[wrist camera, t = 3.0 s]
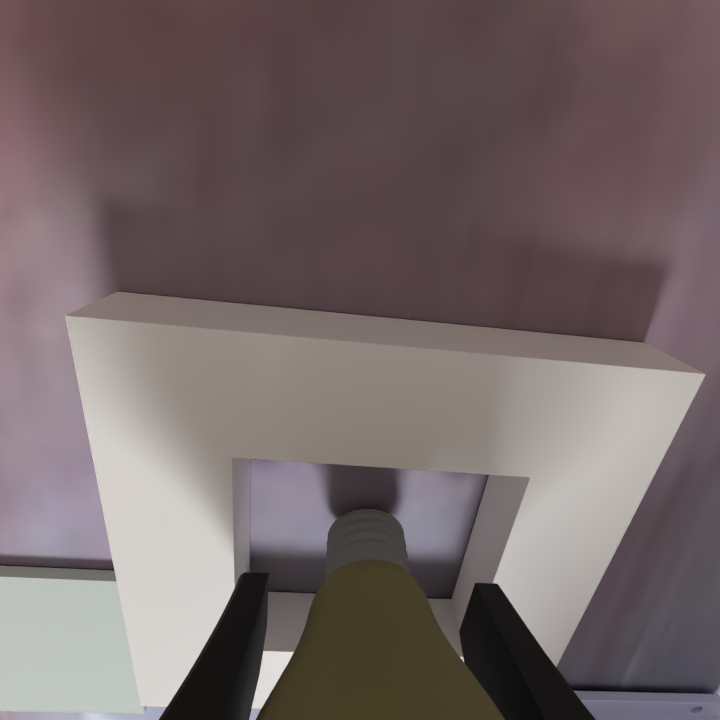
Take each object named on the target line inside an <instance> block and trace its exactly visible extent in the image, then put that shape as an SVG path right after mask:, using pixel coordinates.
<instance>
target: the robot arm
mask: <svg viewBox="0 0 720 720" xmlns="http://www.w3.org/2000/svg"><path fill="white" fill-rule="evenodd" d="M268 578H269V573H250V572H244V573H243V574H241V575H240V577H239V579H238V582H237V584H236V586H235V589H234V591H233V593H232V595H231V597H230V599H229V601H228V603H227V605H226V607H225V609H224V611H223V613H222V615H221V617H220V619H219V621H218V623H217V625H216V626H215V628H214V630H213V632H212V634H211V635H210V637H209V639H208V641H207V642H206V644H205V646H204V648H203V649H202V651H201V653H200V655H199V656H198V658H197V660H196V661H195V663H194V665H193V667H192V668H191V670H190V672H189V673H188V675H187V676H186V678H185V680H184V681H183V683H182V684H181V686H180V687H179V689H178V691H177V692H176V694H175V695H174V697H173V698H172V700H171V702H170V703H169V705H168V706H167V708H166V709H165V711H164V713H163V714H162V716H161V717H160V719H159V720H249V717H250V713H251V708H252V704H253V700H254V696H255V691H256V687H257V683H258V679H259V674H260V668H261V662H262V656H263V649H264V643H265V636H266V630H267V615H268ZM459 635H460V641H461V647H462V653H463V659H464V663H465V664H466V666H467V667H468V668H469V670H470V671H471V672H472V674H473V675H474V676H475V678H476V679H477V680H478V682H479V683H480V684H481V686H482V687H483V688H484V690H485V691H486V692H487V694H488V695H489V696H490V698H491V699H492V700H493V702H494V703H495V705H496V706H497V708H498V709H499V711H500V713H501V714H502V716H503V717H504V719H505V720H720V695H718V694H695V693H652V692H610V691H573V690H572V688H571V687H570V686H569V684H568V683H567V682H566V680H565V679H564V677H563V676H562V675H561V673H560V672H559V671H558V669H557V668H556V667H555V665H554V664H553V662H552V661H551V660H550V658H549V657H548V656H547V654H546V653H545V651H544V650H543V649H542V647H541V646H540V644H539V643H538V642H537V640H536V639H535V637H534V636H533V634H532V633H531V632H530V630H529V629H528V627H527V626H526V624H525V623H524V621H523V620H522V618H521V617H520V616H519V614H518V613H517V611H516V610H515V608H514V607H513V605H512V604H511V602H510V601H509V599H508V598H507V596H506V595H505V593H504V592H503V590H502V589H501V588H500V586H499V585H498V584H495V583H475V585H474V588H473V591H472V594H471V597H470V600H469V603H468V606H467V609H466V612H465V615H464V618H463V621H462V624H461V627H460V630H459Z"/></svg>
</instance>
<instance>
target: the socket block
mask: <svg viewBox="0 0 720 720" xmlns="http://www.w3.org/2000/svg"><path fill="white" fill-rule="evenodd" d="M65 318H66V323H67V328H68V333H69V339H70V344H71V349H72V354H73V359H74V364H75V369H76V375H77V380H78V385H79V390H80V395H81V400H82V405H83V411H84V416H85V421H86V426H87V431H88V436H89V442H90V447H91V452H92V457H93V462H94V467H95V472H96V478H97V483H98V488H99V493H100V498H101V503H102V509H103V514H104V519H105V524H106V529H107V534H108V539H109V545H110V550H111V555H112V560H113V565H114V570H115V576H116V581H117V586H118V591H119V596H120V601H121V606H122V612H123V617H124V622H125V627H126V632H127V637H128V643H129V648H130V653H131V658H132V663H133V668H134V673H135V679H136V684H137V689H138V694H139V699H140V704H141V706H160V707H167V706H168V705H169V703H170V702H171V700H172V698H173V697H174V695H175V694H176V692H177V691H178V689H179V687H180V686H181V684H182V683H183V681H184V680H185V678H186V676H187V675H188V673H189V672H190V670H191V668H192V667H193V665H194V663H195V661H196V660H197V658H198V656H199V655H200V653H201V651H202V649H203V648H204V646H205V644H206V642H207V641H208V639H209V637H210V635H211V634H212V632H213V630H214V628H215V626H216V625H217V623H218V621H219V619H220V617H221V615H222V613H223V611H224V609H225V607H226V605H227V603H228V601H229V599H230V597H231V595H232V593H233V591H234V589H235V586H236V584H237V582H238V579H239V577H240V575H241V574H243V573H244V572H250V459H262V460H277V461H292V462H307V463H322V464H337V465H352V466H367V467H382V468H397V469H412V470H427V471H442V472H457V473H471V474H486V475H489V477H488V480H487V483H486V486H485V490H484V493H483V496H482V500H481V503H480V506H479V510H478V513H477V516H476V520H475V523H474V526H473V529H472V533H471V536H470V539H469V543H468V546H467V549H466V553H465V556H464V559H463V563H462V566H461V569H460V573H459V576H458V579H457V582H456V586H455V589H454V592H453V596H452V599H432V598H427V599H428V602H429V604H430V607H431V609H432V612H433V614H434V616H435V619H436V621H437V622H438V624H439V626H440V628H441V630H442V632H443V633H444V635H445V636H446V638H447V639H448V641H449V642H450V644H451V645H452V647H453V648H454V650H455V651H456V652H457V654H458V655H459V656H460V658H461V659H462V660H463V662H464V659H463V653H462V647H461V641H460V635H459V630H460V627H461V624H462V621H463V618H464V615H465V612H466V609H467V606H468V603H469V600H470V597H471V594H472V591H473V588H474V585H475V583H495V584H498V585H499V586H500V588H501V589H502V590H503V592H504V593H505V595H506V596H507V598H508V599H509V601H510V602H511V604H512V605H513V607H514V608H515V610H516V611H517V613H518V614H519V616H520V617H521V618H522V620H523V621H524V623H525V624H526V626H527V627H528V629H529V630H530V632H531V633H532V634H533V636H534V637H535V639H536V640H537V642H538V643H539V644H540V646H541V647H542V649H543V650H544V651H545V653H546V654H547V656H548V657H549V658H550V660H551V661H552V662H553V664H554V665H555V667H557V665H558V663H559V661H560V659H561V657H562V655H563V653H564V651H565V649H566V647H567V645H568V643H569V641H570V639H571V637H572V635H573V634H574V632H575V630H576V628H577V626H578V624H579V622H580V620H581V618H582V616H583V614H584V612H585V610H586V608H587V606H588V604H589V602H590V600H591V598H592V596H593V594H594V592H595V590H596V589H597V587H598V585H599V583H600V581H601V579H602V577H603V575H604V573H605V571H606V569H607V567H608V565H609V563H610V561H611V559H612V557H613V555H614V553H615V551H616V549H617V547H618V546H619V544H620V542H621V540H622V538H623V536H624V534H625V532H626V530H627V528H628V526H629V524H630V522H631V520H632V518H633V516H634V514H635V512H636V510H637V508H638V506H639V504H640V502H641V501H642V499H643V497H644V495H645V493H646V491H647V489H648V487H649V485H650V483H651V481H652V479H653V477H654V475H655V473H656V471H657V469H658V467H659V465H660V463H661V461H662V459H663V458H664V456H665V454H666V452H667V450H668V448H669V446H670V444H671V442H672V440H673V438H674V436H675V434H676V432H677V430H678V428H679V426H680V424H681V422H682V420H683V418H684V416H685V414H686V413H687V411H688V409H689V407H690V405H691V403H692V401H693V399H694V397H695V395H696V393H697V391H698V389H699V387H700V385H701V383H702V381H703V379H704V377H705V375H706V374H705V373H703V372H701V371H699V370H697V369H695V368H693V367H691V366H689V365H687V364H685V363H684V362H682V361H680V360H678V359H676V358H674V357H672V356H670V355H668V354H666V353H664V352H662V351H660V350H658V349H656V348H655V347H653V346H651V345H649V344H647V343H643V342H633V341H623V340H612V339H602V338H592V337H581V336H571V335H561V334H550V333H540V332H530V331H519V330H509V329H499V328H488V327H478V326H468V325H457V324H447V323H437V322H426V321H416V320H406V319H395V318H385V317H375V316H364V315H354V314H344V313H333V312H323V311H313V310H302V309H292V308H282V307H271V306H261V305H251V304H240V303H230V302H220V301H209V300H199V299H189V298H178V297H168V296H158V295H147V294H137V293H127V292H115V293H113V294H111V295H109V296H107V297H104V298H102V299H100V300H98V301H96V302H94V303H91V304H89V305H87V306H85V307H83V308H81V309H78V310H76V311H74V312H72V313H70V314H67V315H65ZM314 596H315V594H311V593H287V592H268V615H267V630H266V636H265V643H264V649H263V656H262V662H261V668H260V674H259V679H258V683H257V687H256V691H255V696H254V700H253V704H252V708H262V707H263V705H264V703H265V702H266V700H267V698H268V697H269V695H270V693H271V691H272V690H273V688H274V686H275V685H276V683H277V681H278V680H279V678H280V676H281V674H282V673H283V671H284V669H285V668H286V666H287V664H288V663H289V661H290V659H291V657H292V655H293V653H294V651H295V649H296V647H297V645H298V643H299V641H300V638H301V636H302V633H303V631H304V628H305V624H306V621H307V617H308V614H309V610H310V607H311V604H312V601H313V598H314Z"/></svg>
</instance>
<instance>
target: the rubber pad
mask: <svg viewBox="0 0 720 720" xmlns="http://www.w3.org/2000/svg"><path fill="white" fill-rule="evenodd" d="M146 709H147V706H141V704H140V699H139V694H138V689H137V684H136V679H135V673H134V668H133V663H132V658H131V653H130V648H129V643H128V637H127V632H126V627H125V622H124V617H123V612H122V606H121V601H120V596H119V591H118V586H117V581H116V576H115V571H111V570H89V569H66V568H43V567H21V566H0V711H32V712H90V713H145V711H146Z"/></svg>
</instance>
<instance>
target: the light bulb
mask: <svg viewBox="0 0 720 720" xmlns="http://www.w3.org/2000/svg"><path fill="white" fill-rule="evenodd" d="M326 556H327V559H326V571H325V580H324V581H323V583H322V584H321V586H320V587H319V589H318V590H317V592H316V594H315V596H314V598H313V601H312V604H311V607H310V610H309V614H308V617H307V621H306V624H305V628H304V631H303V633H302V636H301V638H300V641H299V643H298V645H297V647H296V649H295V651H294V653H293V655H292V657H291V659H290V661H289V663H288V664H287V666H286V668H285V669H284V671H283V673H282V674H281V676H280V678H279V680H278V681H277V683H276V685H275V686H274V688H273V690H272V691H271V693H270V695H269V697H268V698H267V700H266V702H265V703H264V705H263V707H262V709H261V711H260V713H259V715H258V717H257V719H256V720H505V719H504V717H503V716H502V714H501V713H500V711H499V709H498V708H497V706H496V705H495V703H494V702H493V700H492V699H491V698H490V696H489V695H488V694H487V692H486V691H485V690H484V688H483V687H482V686H481V684H480V683H479V682H478V680H477V679H476V678H475V676H474V675H473V674H472V672H471V671H470V670H469V668H468V667H467V666H466V664H465V663H464V662H463V660H462V659H461V658H460V656H459V655H458V654H457V652H456V651H455V650H454V648H453V647H452V645H451V644H450V642H449V641H448V639H447V638H446V636H445V635H444V633H443V632H442V630H441V628H440V626H439V624H438V622H437V621H436V619H435V616H434V614H433V612H432V609H431V607H430V604H429V602H428V599H427V597H426V595H425V593H424V591H423V590H422V588H421V587H420V586H419V584H418V583H417V581H416V580H415V578H414V577H413V576H412V575H411V573H410V566H409V562H408V555H407V551H406V543H405V539H404V532H403V529H402V526H401V524H400V523H399V522H398V520H397V519H395V518H394V517H393V516H392V515H390V514H388V513H386V512H383V511H380V510H375V509H360V510H354V511H351V512H349V513H346V514H344V515H343V516H341V517H340V518H338V519H337V520H336V521H335V522H334V523H333V525H332V526H331V528H330V530H329V533H328V540H327V553H326Z"/></svg>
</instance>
